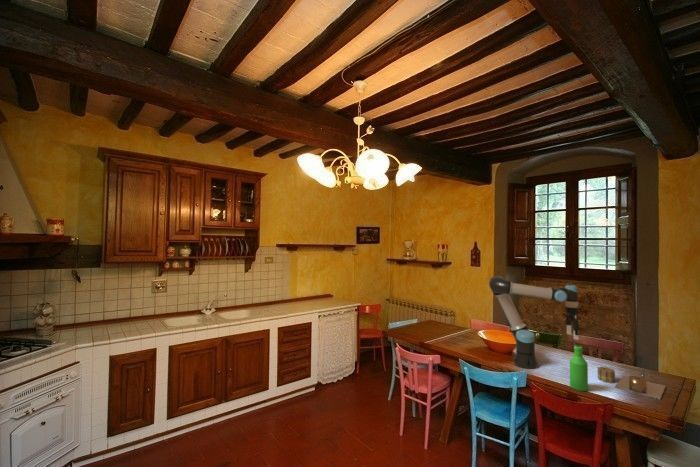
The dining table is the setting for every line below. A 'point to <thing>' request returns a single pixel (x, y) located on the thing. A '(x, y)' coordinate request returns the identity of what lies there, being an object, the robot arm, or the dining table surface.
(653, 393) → the carrier
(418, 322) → the dining table surface
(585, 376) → the bottle
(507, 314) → the robot arm
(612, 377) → the planet gear
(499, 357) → the dining table surface
